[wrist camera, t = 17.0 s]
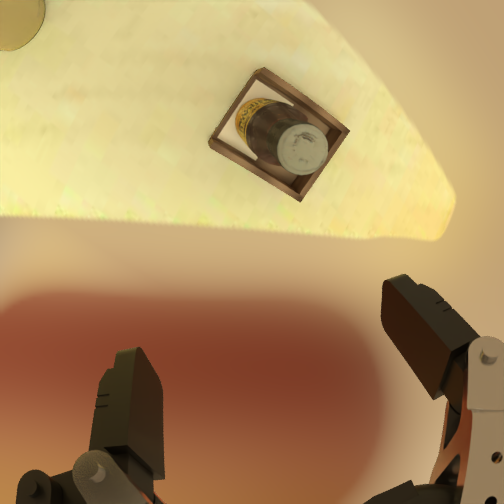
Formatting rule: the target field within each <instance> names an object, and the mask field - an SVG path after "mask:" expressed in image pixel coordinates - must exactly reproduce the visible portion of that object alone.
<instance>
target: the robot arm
mask: <svg viewBox="0 0 504 504" xmlns="http://www.w3.org/2000/svg"><path fill="white" fill-rule="evenodd" d="M44 14H45V5H44V2H43V0H0V50H6V51H11V50H16V49H19V48H20V47H22V46H24V45H25V44H27V43H28V42H29V41H30V40H31V39H32V38H33V37H34V36H35V34H36V33H37V32H38V30H39V28H40V26H41V24H42V22H43V19H44ZM381 321H382V325H383V328H384V330H385V332H386V333H387V335H388V336H389V337H390V339H391V340H392V342H393V343H394V345H395V346H396V347H397V349H398V350H399V351H400V353H401V354H402V356H403V357H404V359H405V360H406V361H407V363H408V364H409V366H410V367H411V369H412V370H413V372H414V373H415V374H416V376H417V377H418V379H419V380H420V382H421V383H422V385H423V386H424V388H425V389H426V390H427V392H428V393H429V395H430V396H431V398H432V399H433V400H435V399H437V398H439V397H440V396H442V395H445V396H446V398H447V399H448V401H447V403H446V409H445V418H444V425H443V431H442V438H441V444H440V450H439V454H438V457H437V460H436V463H435V465H434V468H433V470H432V474H431V477H430V481H429V484H423V485H416V486H414V485H413V483H412V481H411V480H409V481H407V482H405V483H403V484H401V485H399V486H397V487H394V488H392V489H390V490H388V491H385V492H383V493H381V494H378V495H376V496H374V497H372V498H371V499H370V500H368V501H367V502H365V503H364V504H504V343H503V342H502V341H500V340H499V339H497V338H494V337H490V336H484V337H480V336H479V335H478V334H477V333H476V332H475V330H473V329H472V327H471V326H470V325H469V324H468V323H467V322H466V321H465V320H464V319H463V318H462V317H461V316H460V315H459V314H458V313H457V312H456V311H455V310H454V309H452V307H451V306H450V305H449V304H448V303H447V302H446V301H444V299H443V298H442V297H441V296H440V295H439V294H438V293H437V292H436V291H435V290H434V289H432V288H429V287H428V286H426V285H423V284H419V285H417V284H416V283H415V282H414V281H413V280H412V279H411V278H410V277H409V276H408V275H406V274H402V275H399V276H396V277H393V278H390V279H387V280H385V281H384V282H383V286H382V303H381ZM97 396H98V398H97V399H96V405H95V407H96V409H95V411H94V418H93V424H92V431H91V438H90V446H89V451H88V452H86V453H84V454H83V455H81V456H80V457H79V458H78V459H77V461H76V462H75V464H74V466H73V470H71V471H67V472H64V473H62V474H58V475H55V476H52V477H49V476H48V475H47V474H45V473H44V472H42V471H40V470H31V471H28V472H27V473H25V474H24V475H23V476H22V478H21V479H20V481H19V484H18V488H17V496H16V504H166V503H165V502H164V501H163V500H162V499H161V498H160V497H159V496H158V495H157V493H156V492H155V491H154V488H153V480H162V479H165V471H164V441H163V439H164V438H163V389H162V385H161V381H160V379H159V377H158V375H157V373H156V372H155V370H154V368H153V367H152V365H151V363H150V362H149V360H148V358H147V357H146V355H145V353H144V352H143V350H142V348H140V347H136V348H131V349H126V350H121V351H118V352H117V354H116V358H115V363H114V368H111V369H107V371H106V372H105V374H104V376H103V377H102V379H101V381H100V383H99V388H98V394H97Z"/></svg>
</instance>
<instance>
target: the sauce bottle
mask: <svg viewBox="0 0 504 504" xmlns="http://www.w3.org/2000/svg"><path fill="white" fill-rule="evenodd" d="M235 126H236V130H237V133H238V134H239V136H240V137H241V138H242V140H243V141H244V142H245V144H246V145H247V146H248V147H249V149H250V150H251V151H252V152H253V153H254V154H255V155H256V156H257V157H258V158H259V159H261V160H263V161H264V162H266V163H268V164H271V165H276V166H282V167H283V168H284V169H285V170H287V171H288V172H290V173H292V174H296V175H301V176H302V175H307V174H311V173H313V172H315V171H317V170H318V169H319V168H320V167H321V166H322V165H323V164H324V162H325V160H326V158H327V155H328V142H327V139H326V136H325V135H324V133H323V132H322V131H321V130H320V129H319V128H318V127H316V126H315V125H313V124H311V123H309V122H308V118H307V116H306V115H305V114H303V113H302V112H300V111H299V110H297V109H296V108H294V107H293V106H291V105H289V104H287V103H284V102H280V101H275V100H271V99H265V98H256V99H252V100H250V101H248V102H246V103H245V104H243V105H242V107H241V108H240V109H239V110H238V112H237V115H236V118H235Z"/></svg>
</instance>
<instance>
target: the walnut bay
mask: <svg viewBox="0 0 504 504" xmlns="http://www.w3.org/2000/svg"><path fill="white" fill-rule="evenodd" d="M256 98H265V99H271V100H275V101H280V102H284V103H287V104H289V105H291V106H293V107H294V108H296V109H297V110H299V111H300V112H302V113H303V114H305V115H306V116H307V118H308V122H309V123H311V124H313V125H315V126H316V127H318V128H319V129H320V130H321V131H322V132H323V133H324V135H325V136H326V139H327V142H328V155H327V158H326V160H325V162H324V164H323V165H322V166H321V167H320V168H319V169H318V170H317V171H315V172H313V173H311V174H307V175H302V176H301V175H296V174H292V173H290V172H288V171H287V170H285V169H284V168H283V167H282V166H276V165H271V164H268V163H266V162H264V161H263V160H261V159H259V158H258V157H257V156H256V155H255V154H254V153H253V152H252V151H251V150H250V149H249V147H248V146H247V145H246V144H245V142H244V141H243V140H242V138H241V137H240V136H239V134H238V133H237V130H236V126H235V118H236V115H237V112H238V110H239V109H240V108H241V107H242V105H243V104H245V103H246V102H248V101H250V100H252V99H256ZM349 132H350V130H349V129H348V128H346V127H345V126H344V125H343V124H341V123H340V122H339V121H338V120H337V119H335V118H334V117H333V116H331V115H330V114H329V113H328V112H326V111H325V110H324V109H322V108H321V107H320V106H319V105H317V104H316V103H315V102H313V101H312V100H311V99H309V98H308V97H306V96H305V95H304V94H302V93H301V92H300V91H298V90H297V89H295V88H294V87H293V86H291V85H290V84H288V83H287V82H285V81H284V80H282V79H281V78H280V77H278V76H277V75H275V74H274V73H272V72H271V71H269V70H268V69H266V68H265V67H263V68H261V69H258V70H256V71H255V72H254V74H253V75H252V77H251V78H250V80H249V81H248V82H247V84H246V85H245V87H244V88H243V90H242V91H241V93H240V94H239V95H238V97H237V98H236V100H235V101H234V103H233V104H232V106H231V107H230V109H229V110H228V112H227V113H226V115H225V116H224V118H223V119H222V121H221V122H220V124H219V125H218V127H217V129H216V130H215V132H214V133H213V135H212V136H211V138H210V140H209V141H208V144H209V146H210V148H211V149H213V150H215V151H216V152H218V153H220V154H222V155H223V156H225V157H227V158H229V159H230V160H232V161H234V162H235V163H237V164H239V165H240V166H242V167H244V168H245V169H247V170H249V171H250V172H252V173H254V174H255V175H257V176H259V177H260V178H262V179H264V180H265V181H267V182H268V183H270V184H272V185H273V186H275V187H277V188H278V189H280V190H281V191H283V192H285V193H286V194H288V195H289V196H291V197H293V198H294V199H296V200H297V201H299V202H301V201H302V199H303V198H304V197H305V195H306V194H307V192H308V191H309V189H310V188H311V187H312V185H313V184H314V182H315V181H316V179H317V178H318V177H319V175H320V174H321V172H322V171H323V169H324V168H325V166H326V165H327V164H328V162H329V161H330V159H331V158H332V156H333V155H334V154H335V152H336V151H337V149H338V148H339V146H340V145H341V143H342V142H343V141H344V139H345V138H346V136H347V135H348V133H349Z"/></svg>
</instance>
